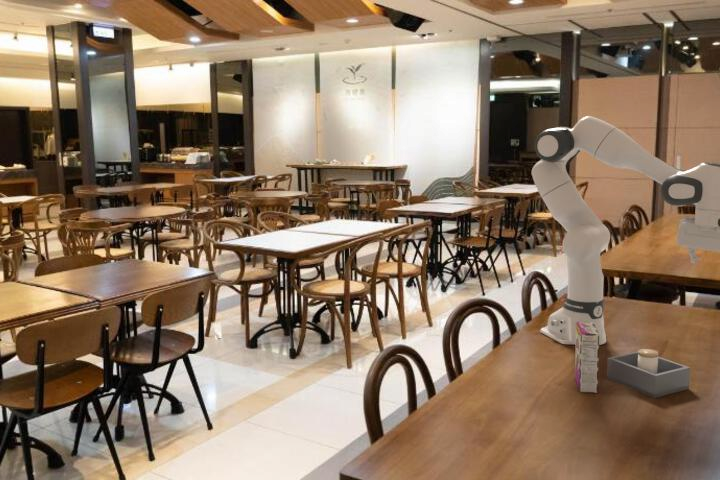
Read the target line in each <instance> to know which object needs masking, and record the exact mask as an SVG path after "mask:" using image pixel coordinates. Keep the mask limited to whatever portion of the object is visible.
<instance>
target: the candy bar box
mask: <svg viewBox="0 0 720 480" xmlns="http://www.w3.org/2000/svg"><path fill="white" fill-rule="evenodd" d="M574 347H575V351H574V352H575V355H574V357H575V359H574V361H575V363H574V379H575V382H576V385H577V388H578V392H579V393H585V394H586V393H587V394H591V393H592V394H598V393H599V392H598V391H599V390H598V389H599V387H598V386H599V362H600V361H599V359H600V358H599V356H600V352H599V351H600V345H599V333H598V331H597V329H596V327H595V325H594V323H590V322H576V345H575V346H574Z"/></svg>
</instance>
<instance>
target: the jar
mask: <svg viewBox="0 0 720 480" xmlns="http://www.w3.org/2000/svg"><path fill="white" fill-rule="evenodd" d="M637 351H638V366H637V367H638V368H640V369H643V370H646V371H648V372H651V373H653V374H657V368H658V357H659V351H658V350H654V349H651V348H641V349H638V350H637Z"/></svg>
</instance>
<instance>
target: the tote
mask: <svg viewBox="0 0 720 480" xmlns="http://www.w3.org/2000/svg"><path fill="white" fill-rule="evenodd" d="M606 360H607V365H606V379H608V380H610V381H612V382H615V383H617V384H619V385H622V386H625V387H627V388H629V389H632V390H634V391H636V392H638V393H641V394H644V395H646V396H649V397H651V398H653V399H656V398H661V397H664V396H667V395H671V394H675V393H678V392H679V393H680V392H682V391H686V390H689V389H690V376H691V367H690V366H687V365H684V364H681V363H678V362H675V361H673V360H669V359H666V358H664V357H661V356H658V368H657V374H653V373H651V372H648V371H646V370H643V369H640V368H638V367H637V366H638V350H637V351H633V352H628V353H624V354H620V355H619V354H618V355H615V356H611V357H607V359H606Z"/></svg>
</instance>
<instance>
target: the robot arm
mask: <svg viewBox="0 0 720 480" xmlns="http://www.w3.org/2000/svg"><path fill="white" fill-rule="evenodd" d="M534 150H535V153H536V156H537V157H538V158H539V159H540V160H539V161H537V162H536V163H535V164H534V165H533V166H532V169H531V176H532V180H533V182H534V185H535V188H536V189H537V191H538V194H539V195H540V197H541V200H543V201H542V202H543V203H544V204H545V206H546V207H547V209H548V210H549V213H550V214H551V216H552V218H553V219H554V220H555V221H557V222H558V224H560V225H561V226H562V228H563V229H564V230H565V231H566V232H567V233H566V234H565V235H564V237H563V239H562V250H563V253H564V254H565V264H566V270H567V296H566V297H565V296H564V297H561V302H564V303H563V304H562V307H561V308H559V309H558V310H556V311H554V312H553V313H551V314H550V315H549V316H548V319H547V325H546V326H544V327H541V328H540V331H539V332H540V333H541V334H543V335H545V336H547V337H548V338H551V339H552V340H554V341H556V342H558V343H559V344H562V345H573V346H574V345H575V346H576V322H590V323H594V325H595V327H596V329H597V331H598V333H599V346H601V345H604V344H606V343H607V338H606V337H607V336H606V335H607V334H606V332H605V321H604V310H605V298H604V279H605V277H604V273H603V270H602V265H601V264H602V263H601V253H602V252H604V251H605V250H606V249H607V247H608V246H609V243H610V241H611V232H610V230H609V228H608V227H607V225H605V224H603V222H602V221H601V220H600V219H599V217H598V216H597V214H596V213H595V212H594V211H593V210H592V208H590V206H589V205H588V204H587V203H586V201H585V200H584V199H583V197H582V195H581V193H580V192H579V190H578V188H577V187H576V185H575V183H574V181H573V179H572V178H571V177H570V175H569V173H568V171H567V167H566V165H569V164H570V163H571V162H572V161H573V160H574V159H575V158H576V157H577V155H579V153H580V151H583V152H585V153H587V154H589V155H590V156H591V157H593V158H595V159H596V160H598V161H600V162H601V163H603V164H605V165H607V166H610V167H612V168H616V169H624V170H625V169H626V170H632V171H636V172H638V173H641V174H643V175H645V176H646V177H648V178H650V179H651V180H653V181H655V182H656V183H658V184H660V185H661V187H660V195H661V197H662V199H663V200H664V202H666V203H667V204H668V205H670V206H674V207H684V206H687V205H689V206H690V205H694V206H695V209H694V210H695V212H694V213H695V214H694V216H690V215H684V216H683V217H681V218H680V220H679V227H678V231H677V234H676V235H677V236H676V243H677V246H680V247H684V248H687V253H688V255H689V257H690V263H691V264H698V263H699V262H700V261H699V259H700V257H699V256H697V253H696V251H697V249H698V250H704V251H707V252H708V251H709V252H710V251H711V252H715V253H716V252H717V253H720V163H719V162H718V163H717V162H711V161H704V162H701V163H700V164H698V165H697V166H695V167H692V168H691V169H688V170H684V169H679V168H677V167H674V166H673V165H671V164H670V163H667V162H666V161H664V160H662V159H660V158H659V157H657V156H655V155H654V154H652V153H650V152H649V151H647V150H646V149H645V148H644V147H642V146H641V145H640V144H639V143H637V142H636V140H634V139H633V138H632V137H631V136H629V135H628V134H626V133H625V132H624V131H623V130H621V129H619V128H618V127H616V126H614V125H613V124H610V123H609V122H607V121H604V120H603V119H600V118H597V117H595V116H591V115H587V116H583V117H582V118H580V119H579V120H578V121H577V122H576V123H575V125H574V126H573V127H570V126H556V127H553V128H548V129H545V130H543V131H542V132H541V133H539V134H538V135H537V137H536V138H535V141H534Z"/></svg>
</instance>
